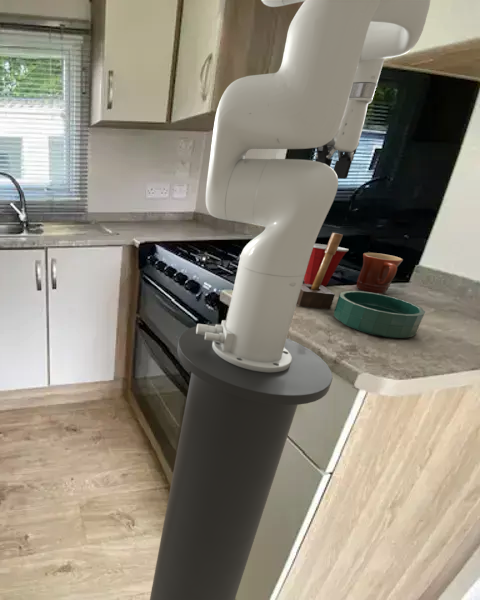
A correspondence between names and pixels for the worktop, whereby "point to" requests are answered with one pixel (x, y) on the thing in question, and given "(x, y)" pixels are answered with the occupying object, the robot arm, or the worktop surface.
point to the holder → (315, 297)
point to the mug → (377, 272)
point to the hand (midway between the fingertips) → (329, 177)
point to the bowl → (378, 314)
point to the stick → (327, 259)
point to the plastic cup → (317, 259)
